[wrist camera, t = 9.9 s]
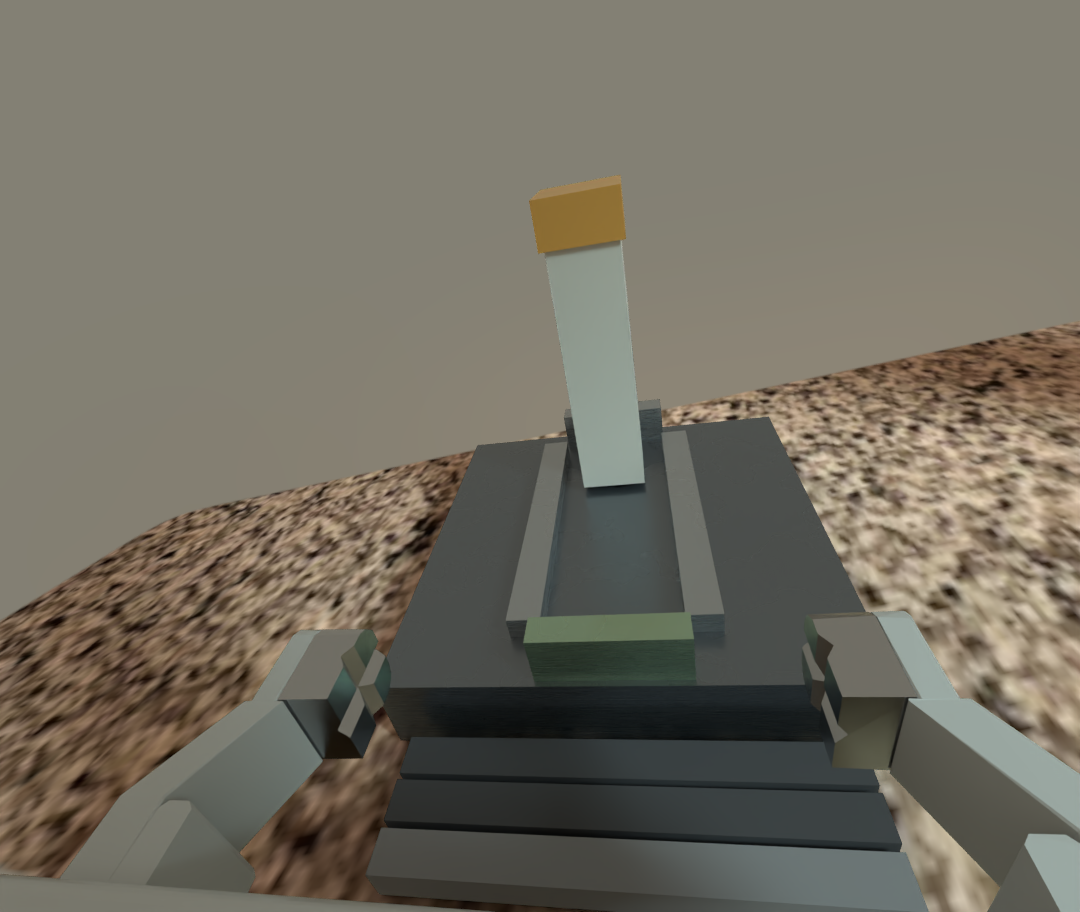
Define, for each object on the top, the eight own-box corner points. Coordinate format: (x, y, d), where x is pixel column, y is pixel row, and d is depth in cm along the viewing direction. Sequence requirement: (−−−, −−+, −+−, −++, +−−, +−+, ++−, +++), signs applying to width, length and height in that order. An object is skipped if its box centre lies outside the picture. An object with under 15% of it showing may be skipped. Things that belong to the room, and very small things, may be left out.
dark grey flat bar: (858, 765, 16) (863, 742, 16) (920, 934, 13) (929, 912, 12) (421, 757, 19) (411, 736, 19) (379, 894, 16) (365, 875, 15)
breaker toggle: (646, 446, 28) (620, 174, 21) (649, 485, 25) (620, 183, 19) (583, 452, 28) (540, 189, 22) (579, 490, 26) (529, 200, 19)
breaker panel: (766, 464, 30) (769, 385, 28) (886, 746, 17) (912, 640, 14) (489, 487, 33) (470, 418, 31) (400, 740, 20) (354, 652, 17)
